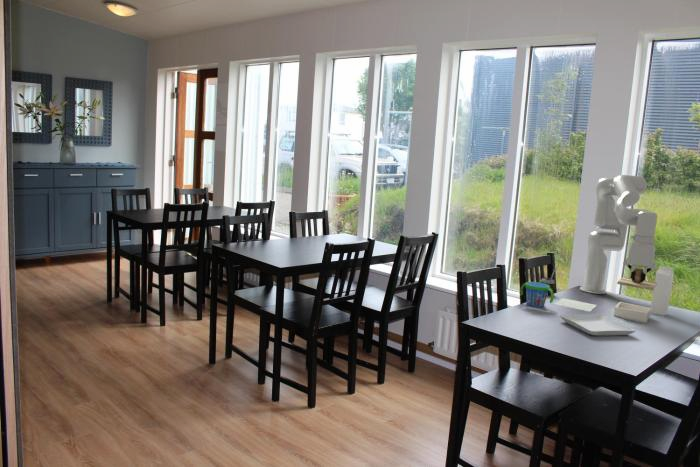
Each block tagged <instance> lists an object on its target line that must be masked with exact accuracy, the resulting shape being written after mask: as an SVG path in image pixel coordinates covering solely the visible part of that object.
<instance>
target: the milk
mask: <svg viewBox="0 0 700 467" xmlns="http://www.w3.org/2000/svg"><path fill="white" fill-rule="evenodd" d="M674 276H675V274H674V268H673V267H670V266H663V265H659V266H658V270H657V271H656V273H655V280H654V283H657V284H656V286H655V288H654V289H653V290H652V291H653V292H652V297H651V303H650V308H651V312H650V314H653V315H657V316H662V317H664V316H666V315H668V312H669V306H670V300H671V294H672V288H673V282H674Z"/></svg>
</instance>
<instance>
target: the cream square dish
mask: <svg viewBox="0 0 700 467" xmlns="http://www.w3.org/2000/svg"><path fill="white" fill-rule="evenodd" d="M650 312H651V307H648V306H642V305H638V304H633V303H628V302H622V301H619V302H618V303H617V304H616V305H615V306H614V311H613V316H614V317H618V318H623V320H626V321H630V322H636V323H640V324H645V325H646V324H647V323H648V321H649V320H650V316H651V313H650Z"/></svg>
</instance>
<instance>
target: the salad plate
mask: <svg viewBox="0 0 700 467" xmlns="http://www.w3.org/2000/svg"><path fill="white" fill-rule="evenodd" d="M559 317H560V318H561V319H562V321H563V322H565V323H567V324H569V325H571V326H572V327H574V328H575V329H578V330H579V331H582V332H584V333H586V334H588V335H590V334H591V335H590V336H626V335H632V334H634V333H635V332H636V331H637V330H636V329H634V328H632V327H630V326H629V325H626V324H625V323H622V322H619V321H617V320H615V319H613V318H610V317H609V316H606V315H604V314H601V313H600V314H595V313H594V314H590V313H589V314H587V313H586V314H585V313H584V314H583V313H582V314H559Z"/></svg>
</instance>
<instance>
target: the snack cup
mask: <svg viewBox="0 0 700 467" xmlns="http://www.w3.org/2000/svg"><path fill="white" fill-rule="evenodd" d="M524 288H525V294H526V295H525V298H526V299H525V300H526V305H527V306H530V307H534V308H544V307H545V304H546V301H547V298H548V294H547V293H548V290H549V291H550V292H551V295H550V299H549V303H550V304H551V303H553V302H554V300H555V299H554V297H555V295H554V292H553V291H552V289H551V288H550V286H549V285H547V284H544V283H540V282H538V281H527V282H525V283H523V284H521V286H520V288H519V296H523V294H524V291H523V289H524Z"/></svg>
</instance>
